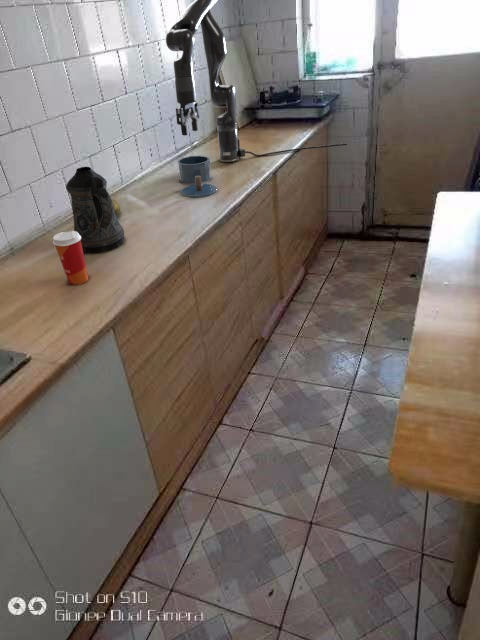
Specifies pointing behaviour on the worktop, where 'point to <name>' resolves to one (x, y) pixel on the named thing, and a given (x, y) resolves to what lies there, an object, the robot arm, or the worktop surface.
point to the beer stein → (94, 212)
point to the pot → (194, 168)
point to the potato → (116, 207)
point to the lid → (199, 189)
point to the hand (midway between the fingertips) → (190, 133)
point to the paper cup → (71, 256)
